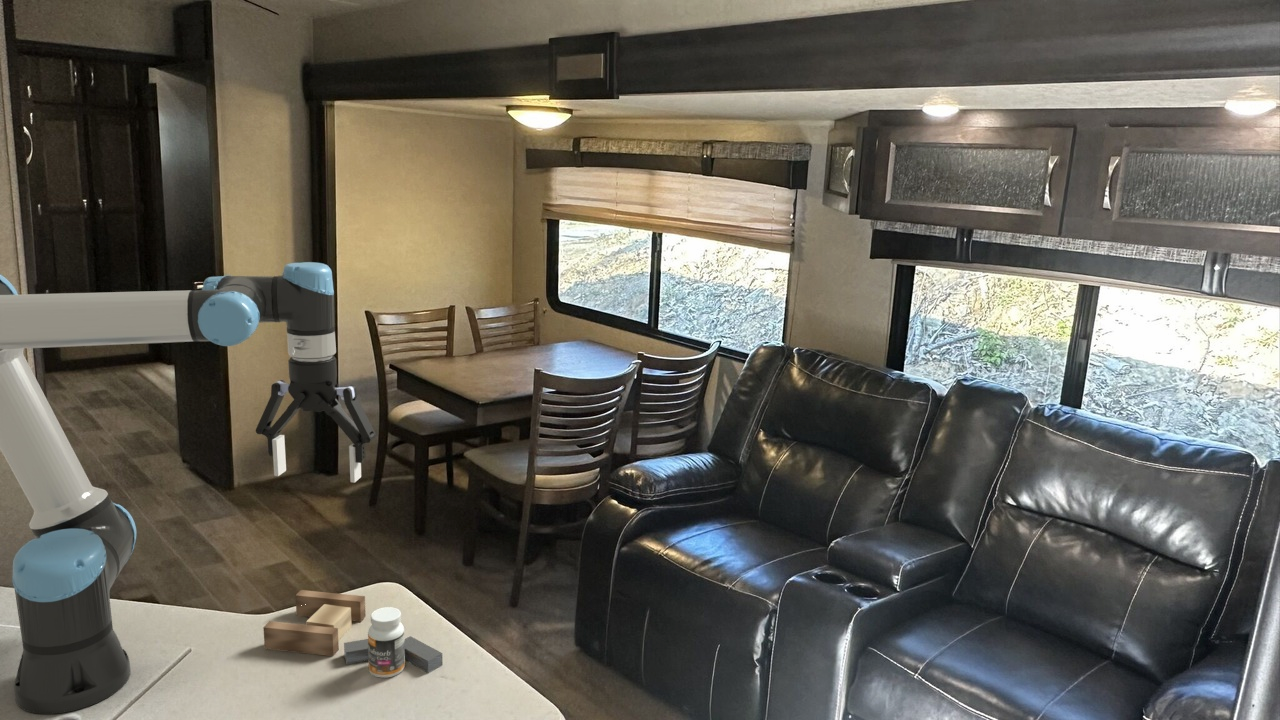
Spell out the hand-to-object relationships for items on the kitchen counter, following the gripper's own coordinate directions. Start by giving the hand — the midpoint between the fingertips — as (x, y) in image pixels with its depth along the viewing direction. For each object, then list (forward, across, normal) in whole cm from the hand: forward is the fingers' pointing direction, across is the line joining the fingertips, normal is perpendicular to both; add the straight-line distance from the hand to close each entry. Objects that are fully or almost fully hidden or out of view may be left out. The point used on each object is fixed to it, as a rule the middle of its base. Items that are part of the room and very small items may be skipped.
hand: (317, 476), depth 156 cm
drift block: (+27, +3, -5) cm, 28 cm away
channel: (+27, +1, -5) cm, 27 cm away
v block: (+27, +17, -10) cm, 33 cm away
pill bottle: (+27, +17, -14) cm, 35 cm away
